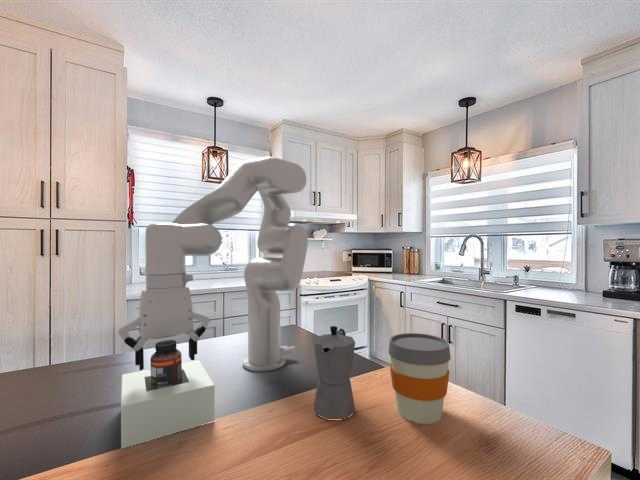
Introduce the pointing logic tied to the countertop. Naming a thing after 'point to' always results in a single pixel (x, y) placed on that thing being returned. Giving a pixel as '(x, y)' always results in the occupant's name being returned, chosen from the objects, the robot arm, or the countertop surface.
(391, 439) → the countertop surface
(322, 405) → the coffeepot
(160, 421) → the sage block
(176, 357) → the supplement bottle
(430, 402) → the reusable coffee cup
